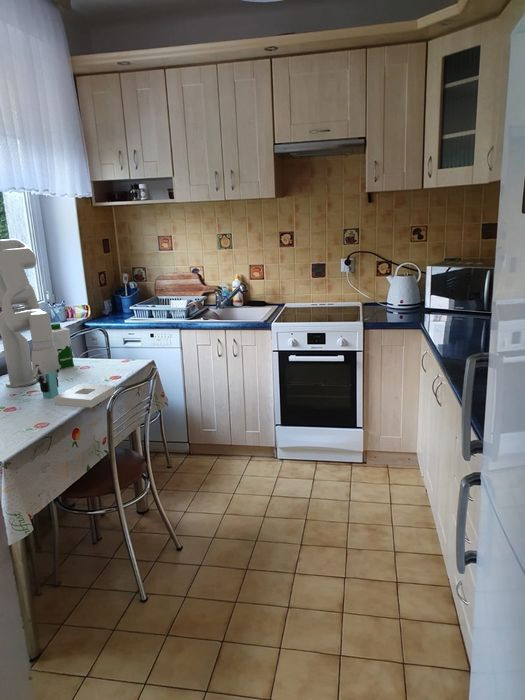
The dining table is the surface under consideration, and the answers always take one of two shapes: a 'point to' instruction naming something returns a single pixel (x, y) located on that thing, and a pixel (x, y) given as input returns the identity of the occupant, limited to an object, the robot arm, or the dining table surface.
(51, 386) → the plug
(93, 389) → the white square-hole board
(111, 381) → the dining table surface
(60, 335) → the milk carton
